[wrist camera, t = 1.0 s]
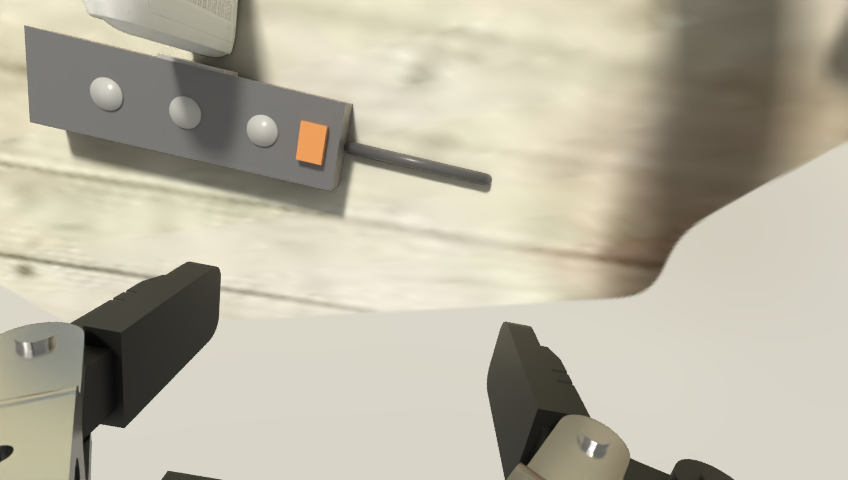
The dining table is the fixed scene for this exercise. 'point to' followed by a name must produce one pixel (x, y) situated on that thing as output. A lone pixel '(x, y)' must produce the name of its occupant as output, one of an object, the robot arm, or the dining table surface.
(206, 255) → the dining table surface
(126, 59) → the power strip
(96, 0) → the photo printer
